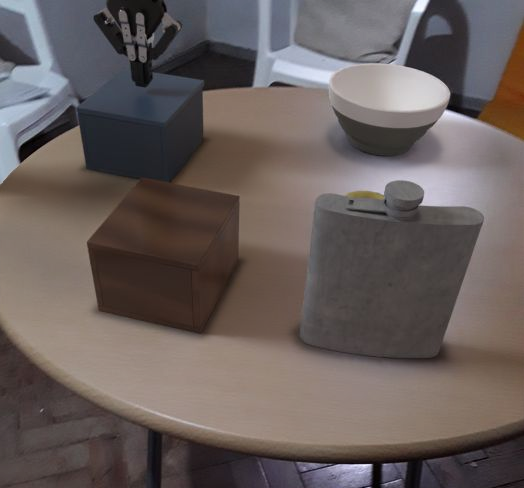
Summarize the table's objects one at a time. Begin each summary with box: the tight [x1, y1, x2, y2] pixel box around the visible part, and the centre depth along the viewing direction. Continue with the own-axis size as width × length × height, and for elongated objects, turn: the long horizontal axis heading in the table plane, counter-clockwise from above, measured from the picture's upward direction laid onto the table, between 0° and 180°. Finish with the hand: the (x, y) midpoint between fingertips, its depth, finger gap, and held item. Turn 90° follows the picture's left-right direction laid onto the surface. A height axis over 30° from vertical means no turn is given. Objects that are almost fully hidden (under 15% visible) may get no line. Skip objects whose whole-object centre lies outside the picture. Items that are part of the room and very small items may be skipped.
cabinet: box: [86, 178, 241, 334], centre depth 74 cm, size 15×13×10 cm
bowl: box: [328, 62, 451, 156], centre depth 105 cm, size 20×20×10 cm
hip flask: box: [298, 179, 485, 359], centre depth 64 cm, size 16×4×20 cm, turn 84°
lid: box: [75, 67, 205, 128], centre depth 95 cm, size 16×14×1 cm
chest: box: [76, 87, 204, 183], centre depth 98 cm, size 16×14×9 cm
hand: (143, 84), depth 94 cm, fingers closed
